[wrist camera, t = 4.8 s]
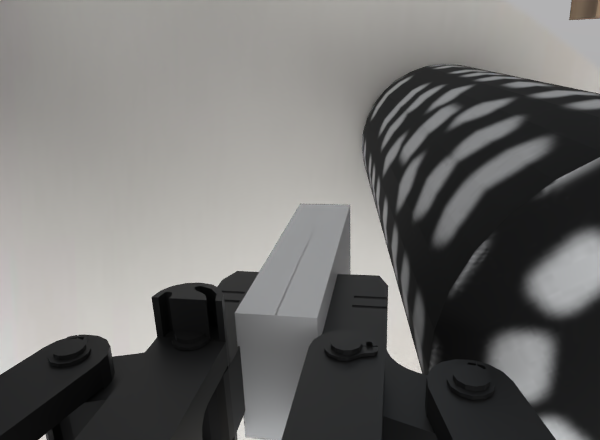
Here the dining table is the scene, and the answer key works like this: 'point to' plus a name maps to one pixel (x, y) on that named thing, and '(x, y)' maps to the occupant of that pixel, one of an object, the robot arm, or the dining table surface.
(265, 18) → the dining table surface
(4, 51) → the dining table surface
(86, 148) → the dining table surface
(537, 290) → the spotted tube
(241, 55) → the dining table surface
